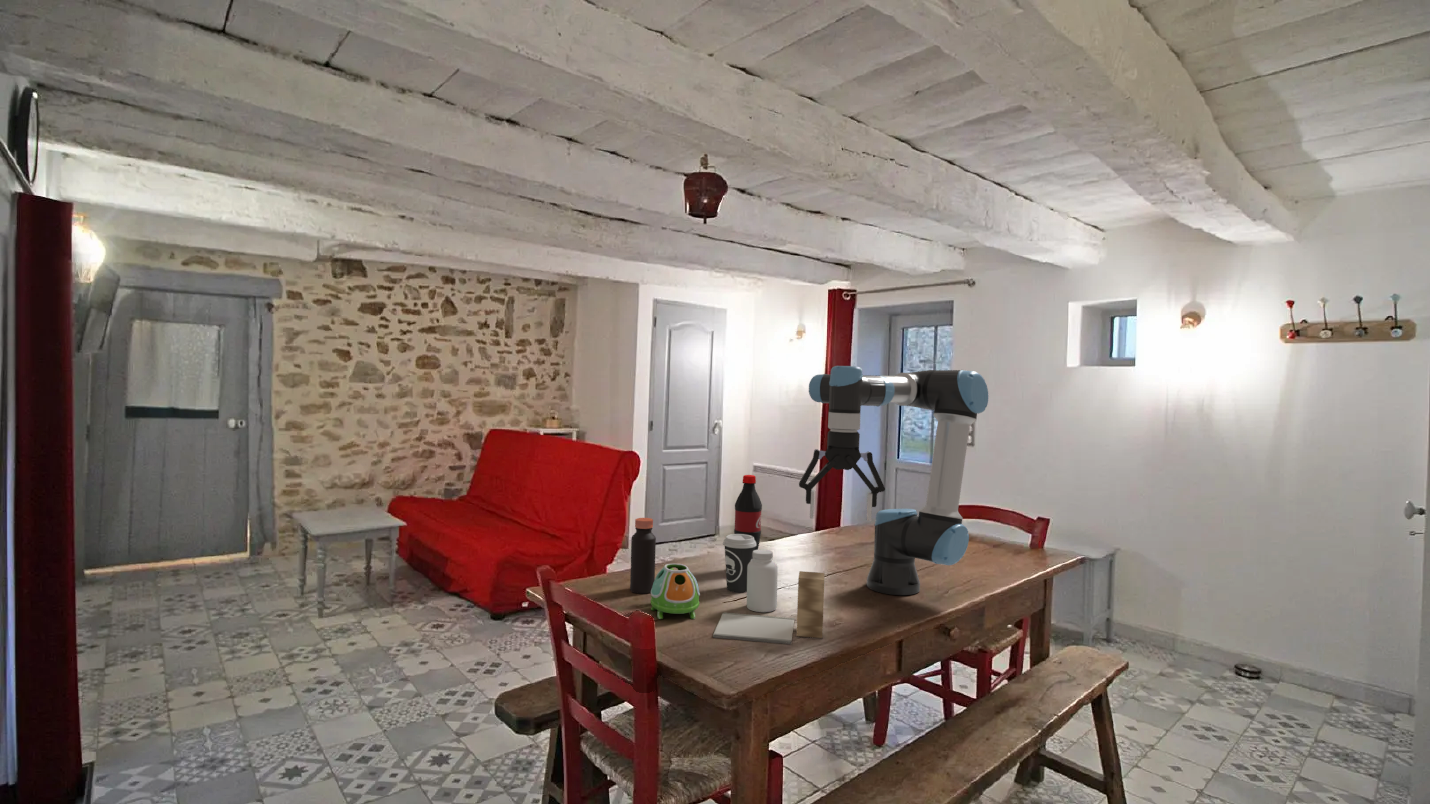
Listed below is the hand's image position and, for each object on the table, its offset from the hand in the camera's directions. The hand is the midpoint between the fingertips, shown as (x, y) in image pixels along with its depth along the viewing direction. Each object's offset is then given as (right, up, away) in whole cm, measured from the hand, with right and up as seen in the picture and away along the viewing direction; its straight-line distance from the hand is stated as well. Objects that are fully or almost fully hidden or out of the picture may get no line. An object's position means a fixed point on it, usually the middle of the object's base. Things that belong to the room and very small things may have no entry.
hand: (840, 519), depth 174 cm
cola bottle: (-20, -25, +52) cm, 61 cm away
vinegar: (-50, -25, +28) cm, 63 cm away
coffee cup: (-23, -25, +32) cm, 47 cm away
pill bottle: (-18, -26, +16) cm, 36 cm away
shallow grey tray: (-20, -27, 0) cm, 33 cm away
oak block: (-7, -27, -2) cm, 28 cm away
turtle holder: (-41, -26, +12) cm, 50 cm away
